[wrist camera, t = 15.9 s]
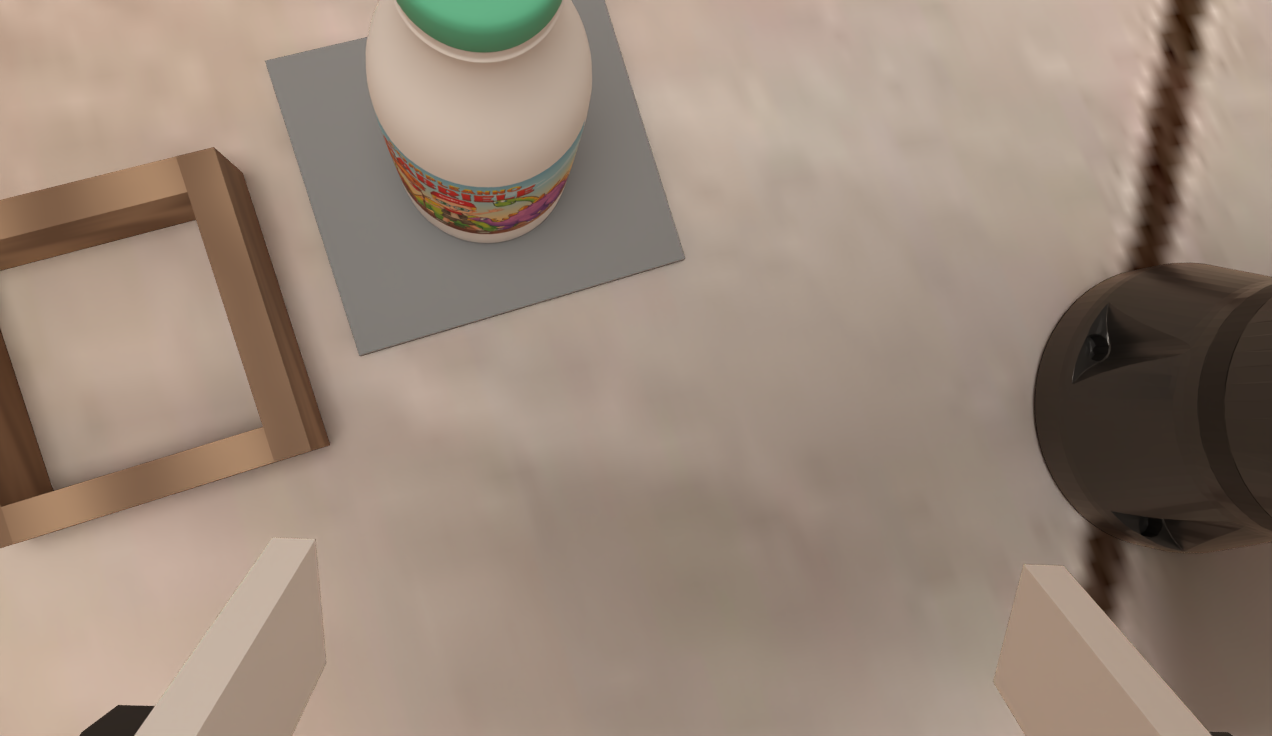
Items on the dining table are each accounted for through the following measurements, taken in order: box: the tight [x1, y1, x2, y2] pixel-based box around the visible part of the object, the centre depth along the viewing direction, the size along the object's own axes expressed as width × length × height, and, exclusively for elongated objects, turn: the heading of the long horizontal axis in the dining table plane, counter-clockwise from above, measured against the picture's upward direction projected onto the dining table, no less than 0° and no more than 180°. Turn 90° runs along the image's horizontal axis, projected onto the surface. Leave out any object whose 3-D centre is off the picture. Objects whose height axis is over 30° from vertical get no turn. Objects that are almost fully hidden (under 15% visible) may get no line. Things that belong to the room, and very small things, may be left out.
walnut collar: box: [0, 147, 330, 548], centre depth 35 cm, size 13×13×4 cm
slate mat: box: [265, 0, 685, 356], centre depth 40 cm, size 16×14×1 cm
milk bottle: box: [366, 0, 592, 243], centre depth 30 cm, size 8×8×20 cm
